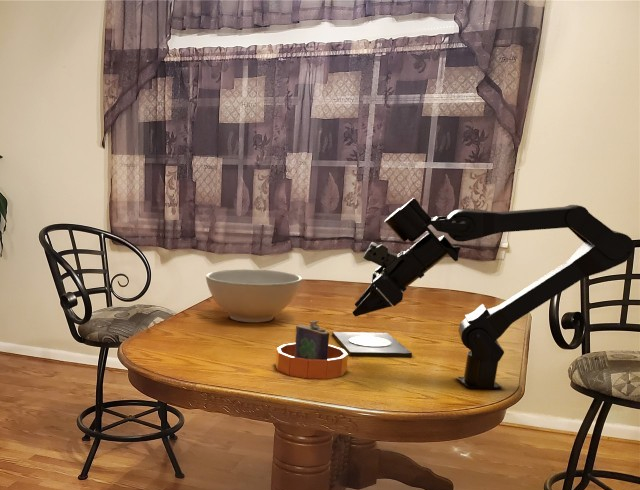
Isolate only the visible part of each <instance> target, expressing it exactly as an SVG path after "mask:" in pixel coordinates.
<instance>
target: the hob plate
mask: <svg viewBox="0 0 640 490" xmlns="http://www.w3.org/2000/svg"><path fill="white" fill-rule="evenodd" d="M331 336H332V337H333V339H334V340H335V341H336V342H337V344H339V345H340V347H341V348H342V349H344V350H345V351H346V352H347V354H348V357H372V358H373V357H376V358H377V357H379V358H412V357H413V352H411V351H410V350H409V348H407V347H405V346H404V345H403V344H402V343H401V342H399V341H398V340H397V339H395V338H394V337H393V336H392V335H391V334H390V333H389V332H366V331H365V332H362V331H360V332H359V331H358V332H357V331H332V334H331Z"/></svg>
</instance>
